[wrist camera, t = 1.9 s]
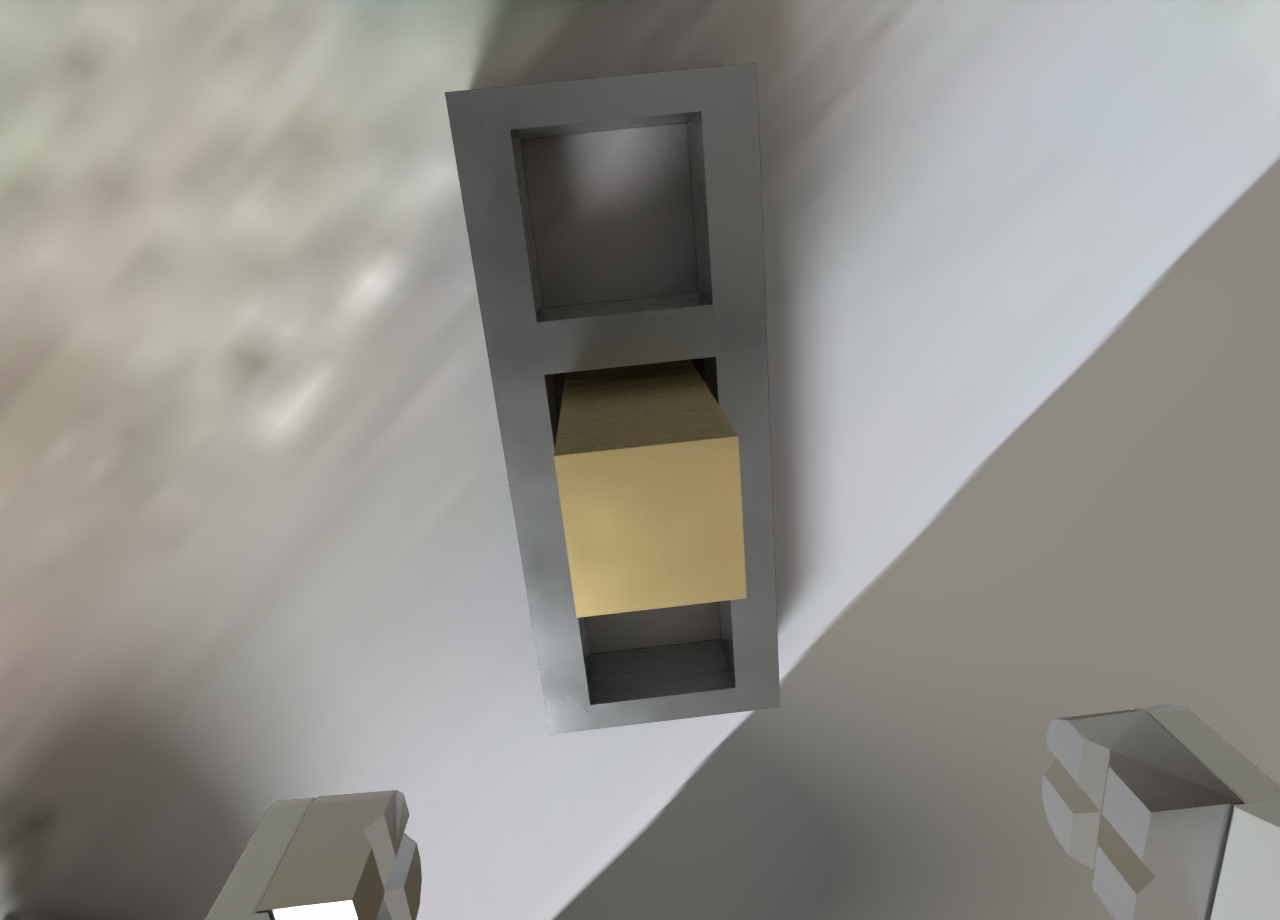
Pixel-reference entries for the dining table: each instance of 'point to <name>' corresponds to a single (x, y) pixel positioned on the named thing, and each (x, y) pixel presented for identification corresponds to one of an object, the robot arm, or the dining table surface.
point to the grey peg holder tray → (624, 336)
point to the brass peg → (648, 490)
